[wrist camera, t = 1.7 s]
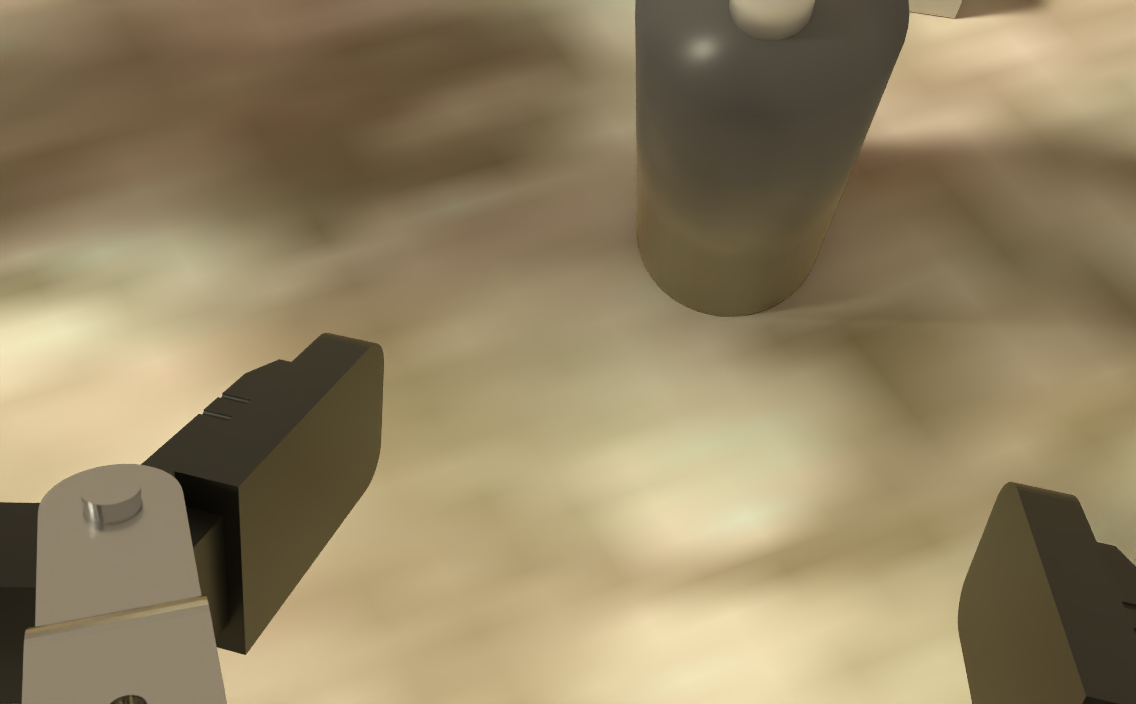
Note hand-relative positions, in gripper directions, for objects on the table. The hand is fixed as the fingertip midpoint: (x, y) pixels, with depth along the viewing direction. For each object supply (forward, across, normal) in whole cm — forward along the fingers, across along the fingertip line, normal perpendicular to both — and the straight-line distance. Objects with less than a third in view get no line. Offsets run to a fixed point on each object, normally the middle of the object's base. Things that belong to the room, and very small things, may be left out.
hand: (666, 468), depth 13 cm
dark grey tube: (+17, 0, +2) cm, 17 cm away
